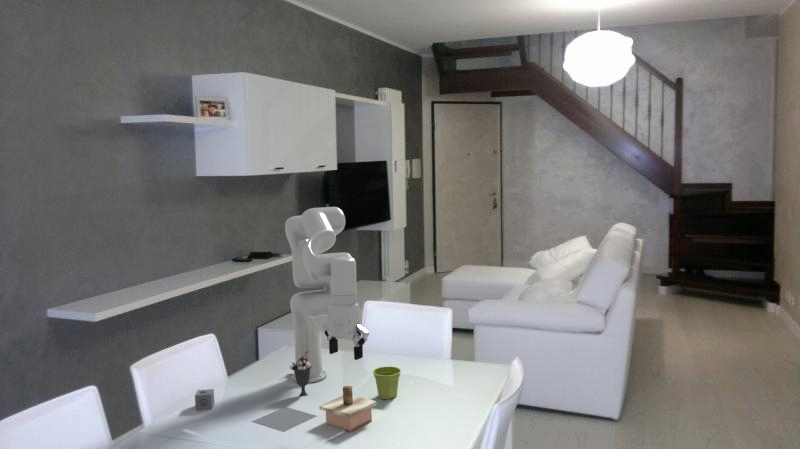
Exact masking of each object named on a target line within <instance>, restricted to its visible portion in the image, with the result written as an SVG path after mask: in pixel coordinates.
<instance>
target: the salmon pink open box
mask: <svg viewBox="0 0 800 449" xmlns="http://www.w3.org/2000/svg"><path fill="white" fill-rule="evenodd" d="M372 418H373V417H372V407H371V408H369V409H367V410H365V411H363V412H361V413H359V414H357V415H355V416H353V417H351V418H349V417H345V416H342V415H338V414H334V413H331V412H327V411H325V423H326V424H327V425H331V426H333V427H337V428H341V429H344V430H343V431H344V432H348V433H352V432H355V431H356V430H359V429H360V428H361V427H363V426H365V425H367V424H370V423H371V422H373V419H372Z"/></svg>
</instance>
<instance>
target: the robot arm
mask: <svg viewBox="0 0 800 449" xmlns="http://www.w3.org/2000/svg"><path fill="white" fill-rule="evenodd" d="M284 225H285V226H284V231H285V236H286V239H287V242H288V244H289V247H290V250H291V260H292V278H293V283H294V285H295V287H297V288H299V289H308V288H309V289H310V288H311V289H312V288H321V287H323V288H324V289H319V290H307V291H300V292H296V293H295V294H292V296H291V298H290V301H289V304H290V305H289V307H290V311H291V317H292V322H293V323H292V324H293V335H294V336H293V338H294V355H295V361H294V362H292V364H291V365H289V369H290V370H292V367H293V366H294V365H293V363H294V364H295V365H296V362H297V360H298V359H300V358H301V357H304V359H305V358H307V359H308V362H309V363H310V365H311V366H312V367H311V369H310V377H309V383H316V382H317V383H318V382H320V381H323V380H325V379H326V378H327V376H328V373H327V371H326V370H324V369H323V356H322V355H323V354H322V332H321V327H322V329H323V331H324V335H325V336H326V337H327V338H326V339H327V341H328V350H329V355H333V354H336V353H338V351H339V342H338V341H339V340H338V339H340V340H344V341H352V343H353V344H354V345H355V346H353V360H355V361H358V360H361V359H362V358H363V356H364V355H363V354H364V353H363V352H364V350H363V346H365V343H366V342H367V341H368V337H369V335H370V332H369V331H368V330H367V329H366V328H365V327H363V326H362V315H361V310H360V305H359V304H358V289H357V286H358V285H357V282H358V281H357V262H356V259H355V258H354V257H352V255H351V254H350V253H348V252H330V253H326V251H328V250H329V249H331V248H332V247H333V246H334V245H335V243H336V241H337V235H339V234H340V233H341V232H342V231H343V230H344V229H345V226H346V216H345V214H344V211H343V210H342V209H340V208H339V207H338V206H327V207H325V206H324V207H323V206H322V207H312V208H308V209H306V210H305V211H303V213H302V214H301V215H295V216H294V215H293V216H290V217H289V218H287V219H286V221H285V224H284ZM326 316H327V318H326V319H327V320H326V322H324V323H322V324H321V327H320V326H319V324H318V323H317V322H316V321H315V320H314V319H315V318H319V317H326ZM306 352H307V354H306ZM304 354H305V355H304ZM293 371H294V370H293ZM291 379H292V381H294V382H296V383H297V381H296V376H295V371H294V372H293V374H291ZM309 383H308V384H309Z"/></svg>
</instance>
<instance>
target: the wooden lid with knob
mask: <svg viewBox="0 0 800 449" xmlns="http://www.w3.org/2000/svg"><path fill="white" fill-rule="evenodd" d="M375 406H377V401H376V400H374V399H370V398H369V399H368V398H364V397H361V396H356V395H353V386H352V385H344V386H342V395H341V396H339V397H337V398H334V399H332V400H329V401H327V402H325V403H324V404H321V405H319V407H318V408H319V410H321V411H324V412H326V411H327V412H331V413H334V414H338V415H342V416H345V417H349V418H351V417H353V416H355V415H357V414H359V413H361V412H363V411H365V410H367V409H369V408H371V409H372V407H375Z"/></svg>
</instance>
